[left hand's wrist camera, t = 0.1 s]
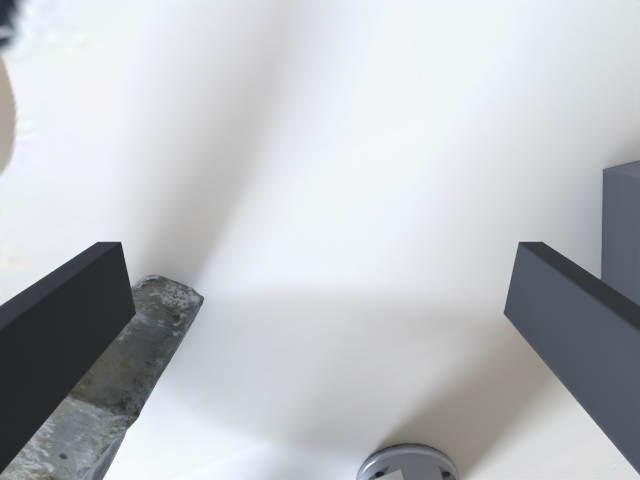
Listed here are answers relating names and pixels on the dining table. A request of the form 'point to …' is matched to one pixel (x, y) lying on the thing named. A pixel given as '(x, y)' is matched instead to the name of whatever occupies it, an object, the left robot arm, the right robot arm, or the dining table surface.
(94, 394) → the concrete block
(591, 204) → the dining table surface
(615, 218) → the bar
